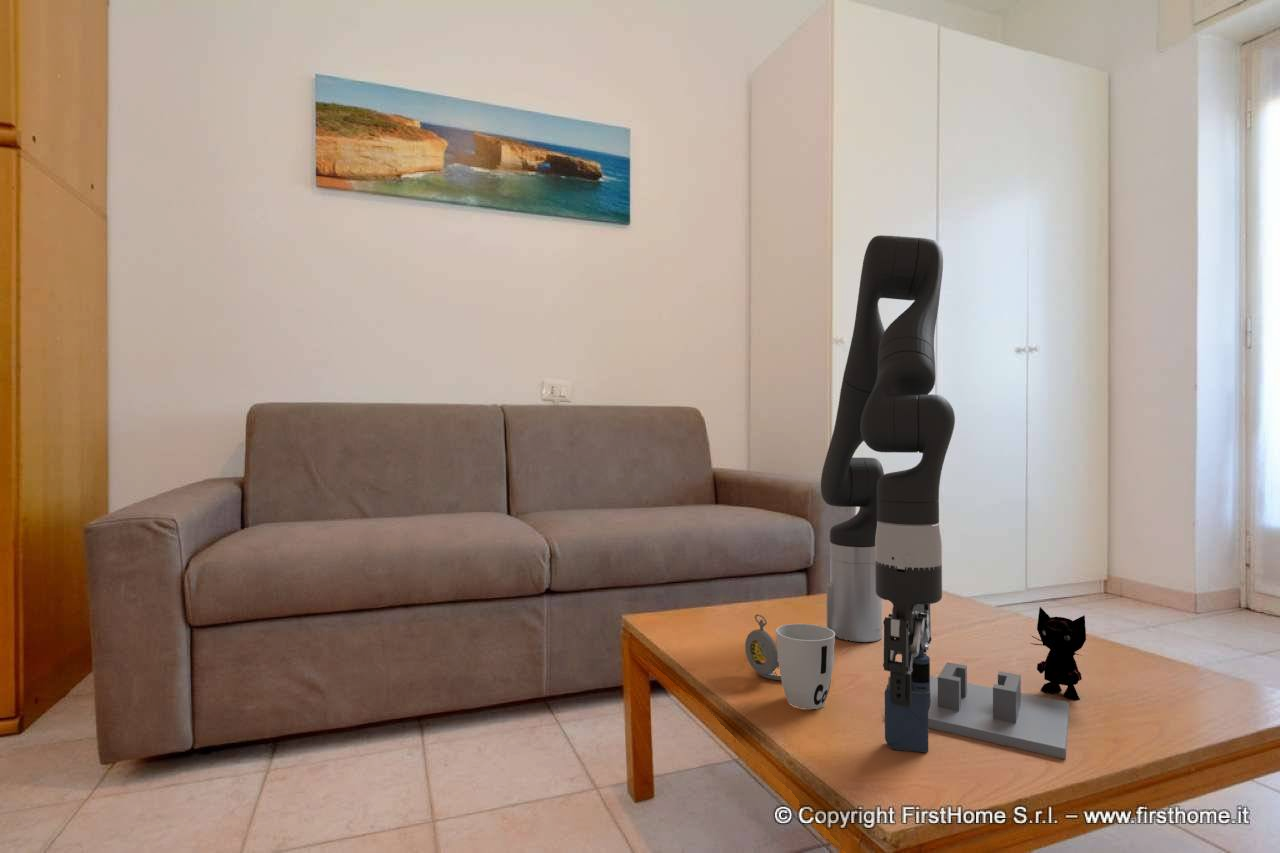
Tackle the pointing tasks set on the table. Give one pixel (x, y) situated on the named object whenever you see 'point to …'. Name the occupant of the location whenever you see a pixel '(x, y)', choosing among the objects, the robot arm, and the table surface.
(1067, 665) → the cat figurine
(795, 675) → the cup
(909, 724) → the vaping device
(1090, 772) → the table surface
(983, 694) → the dock
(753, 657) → the pocket watch
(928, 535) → the robot arm
